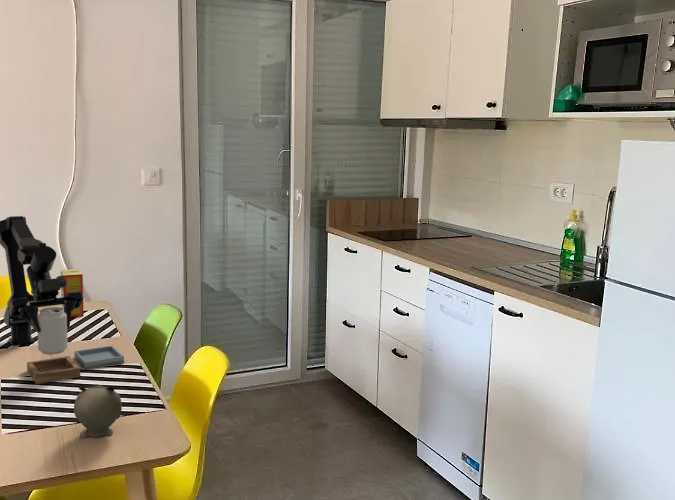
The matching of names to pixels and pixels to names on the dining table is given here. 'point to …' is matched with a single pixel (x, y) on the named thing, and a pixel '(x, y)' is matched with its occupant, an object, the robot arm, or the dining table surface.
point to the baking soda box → (73, 287)
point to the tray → (99, 357)
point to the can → (52, 330)
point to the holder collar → (51, 376)
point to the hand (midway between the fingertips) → (54, 329)
